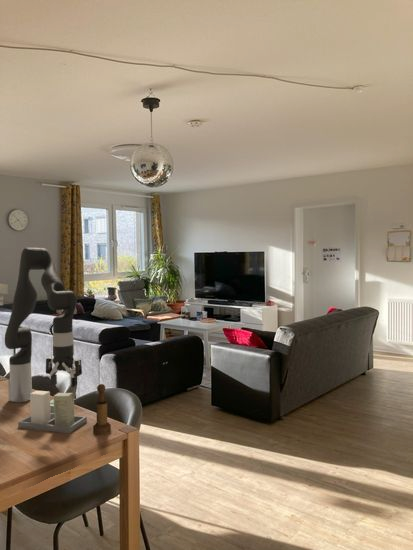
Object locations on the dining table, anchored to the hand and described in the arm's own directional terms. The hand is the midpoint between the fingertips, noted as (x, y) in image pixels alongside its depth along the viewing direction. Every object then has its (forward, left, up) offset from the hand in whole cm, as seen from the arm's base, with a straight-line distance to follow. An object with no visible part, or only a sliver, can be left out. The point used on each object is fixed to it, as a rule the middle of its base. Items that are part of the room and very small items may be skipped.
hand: (64, 385), depth 173 cm
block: (-11, 0, -16) cm, 19 cm away
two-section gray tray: (-5, 0, -17) cm, 18 cm away
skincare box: (0, 0, -16) cm, 16 cm away
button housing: (-12, +14, -17) cm, 25 cm away
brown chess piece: (+15, +2, -17) cm, 23 cm away
